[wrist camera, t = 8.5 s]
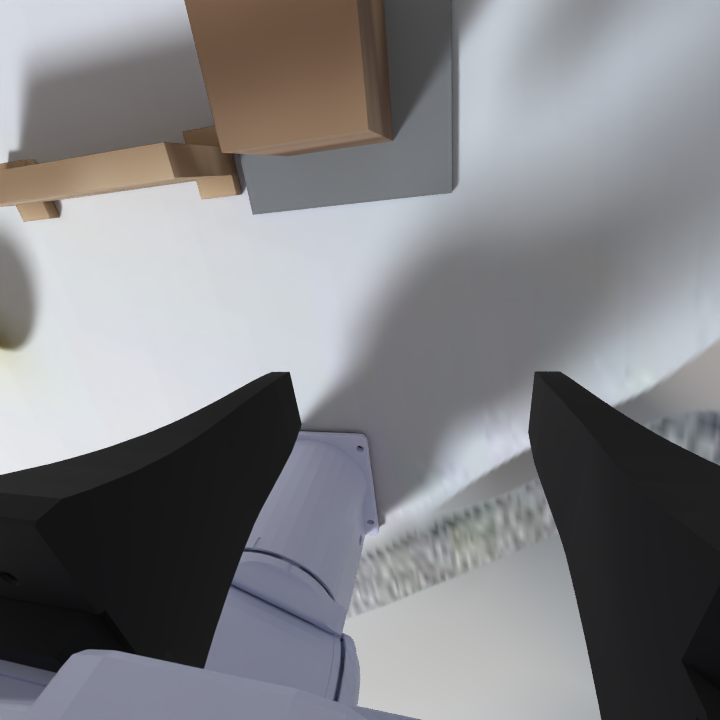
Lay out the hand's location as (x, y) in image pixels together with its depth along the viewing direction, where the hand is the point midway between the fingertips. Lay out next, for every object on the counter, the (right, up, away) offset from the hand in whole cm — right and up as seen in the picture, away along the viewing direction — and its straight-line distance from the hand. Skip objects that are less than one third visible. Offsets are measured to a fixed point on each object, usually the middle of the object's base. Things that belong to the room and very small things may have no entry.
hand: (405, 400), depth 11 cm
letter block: (-3, +13, +5) cm, 14 cm away
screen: (-14, +11, +9) cm, 20 cm away
